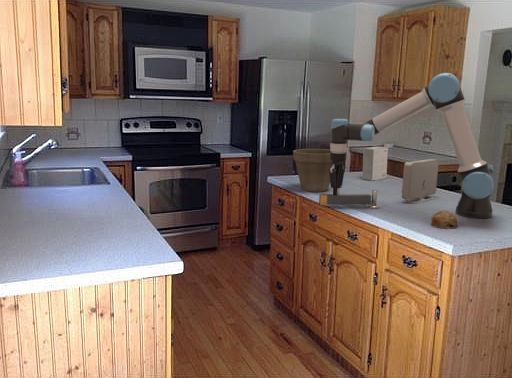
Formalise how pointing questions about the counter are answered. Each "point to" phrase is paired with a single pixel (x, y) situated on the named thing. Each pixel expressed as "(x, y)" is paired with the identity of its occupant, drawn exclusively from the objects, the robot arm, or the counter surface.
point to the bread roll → (444, 220)
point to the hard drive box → (375, 163)
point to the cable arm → (344, 199)
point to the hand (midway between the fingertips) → (335, 201)
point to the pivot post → (374, 201)
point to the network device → (419, 180)
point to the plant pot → (313, 168)
